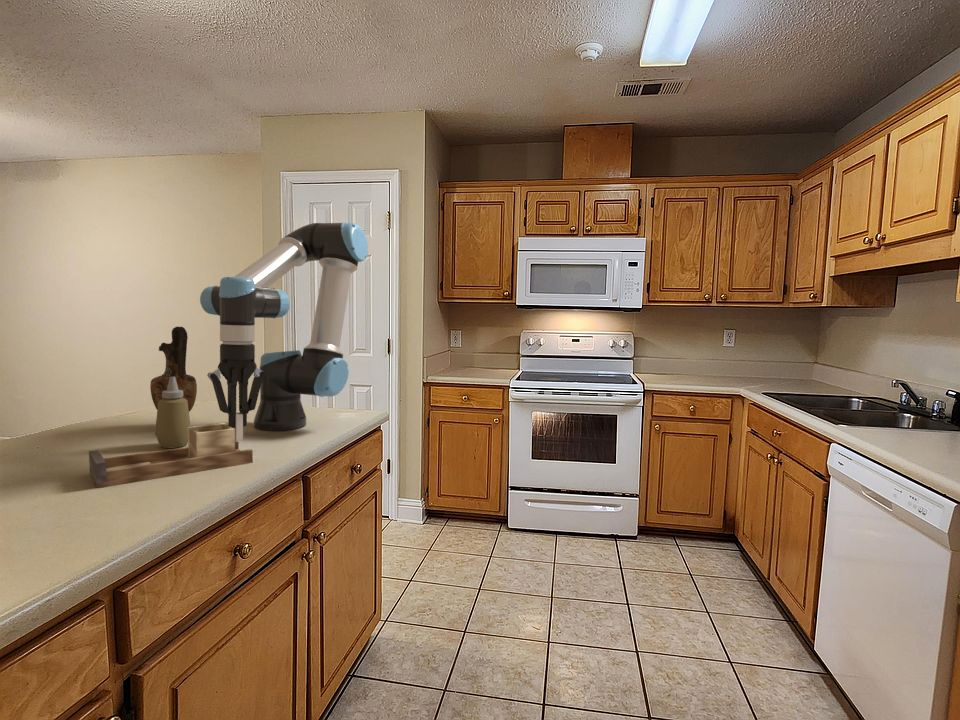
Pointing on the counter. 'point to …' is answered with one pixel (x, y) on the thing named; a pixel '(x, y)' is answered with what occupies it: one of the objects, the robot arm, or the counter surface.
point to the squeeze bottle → (172, 417)
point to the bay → (158, 465)
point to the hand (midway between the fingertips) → (237, 440)
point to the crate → (210, 440)
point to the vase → (175, 369)
